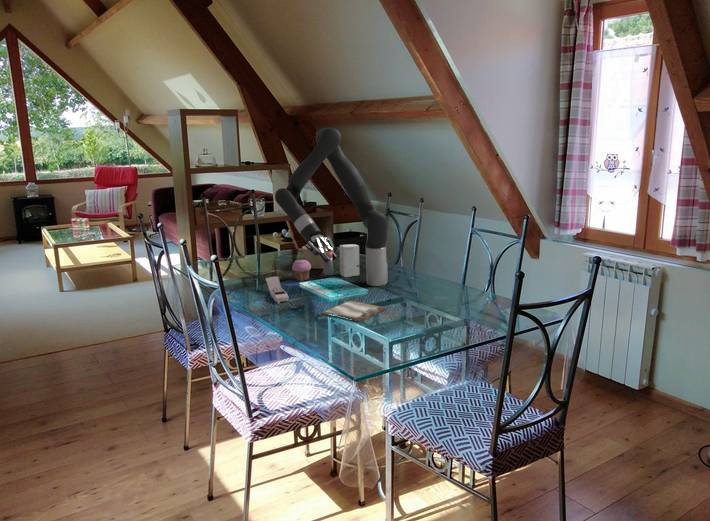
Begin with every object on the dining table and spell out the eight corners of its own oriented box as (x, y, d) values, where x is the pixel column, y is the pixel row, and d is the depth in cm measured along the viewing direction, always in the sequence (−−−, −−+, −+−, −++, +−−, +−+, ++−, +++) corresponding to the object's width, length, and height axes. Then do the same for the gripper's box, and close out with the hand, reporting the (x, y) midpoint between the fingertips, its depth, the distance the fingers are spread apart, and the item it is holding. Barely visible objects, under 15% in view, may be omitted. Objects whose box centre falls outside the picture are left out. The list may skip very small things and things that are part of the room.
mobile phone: (278, 275, 267) (289, 289, 244) (279, 288, 268) (290, 303, 245) (264, 277, 265) (275, 291, 242) (265, 290, 267) (276, 305, 244)
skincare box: (344, 277, 282) (343, 247, 279) (339, 274, 288) (338, 244, 284) (360, 275, 286) (359, 245, 282) (355, 272, 291) (354, 243, 288)
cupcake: (300, 283, 274) (298, 262, 272) (289, 280, 281) (288, 259, 278) (315, 279, 280) (314, 259, 278) (304, 276, 286) (303, 256, 284)
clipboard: (350, 302, 244) (350, 297, 243) (386, 309, 233) (386, 304, 233) (322, 314, 230) (322, 309, 229) (359, 322, 219) (359, 317, 219)
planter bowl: (340, 265, 307) (339, 244, 305) (322, 272, 294) (321, 250, 291) (315, 262, 316) (314, 242, 313) (297, 268, 302) (295, 248, 300)
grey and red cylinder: (327, 272, 244) (326, 250, 242) (335, 273, 242) (334, 251, 239) (321, 274, 241) (320, 252, 239) (329, 275, 238) (328, 253, 236)
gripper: (300, 225, 235) (325, 258, 231) (323, 219, 246) (347, 250, 242) (291, 237, 240) (315, 269, 235) (314, 230, 251) (337, 261, 246)
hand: (331, 259), depth 239 cm, fingers closed on grey and red cylinder, 4 cm apart
